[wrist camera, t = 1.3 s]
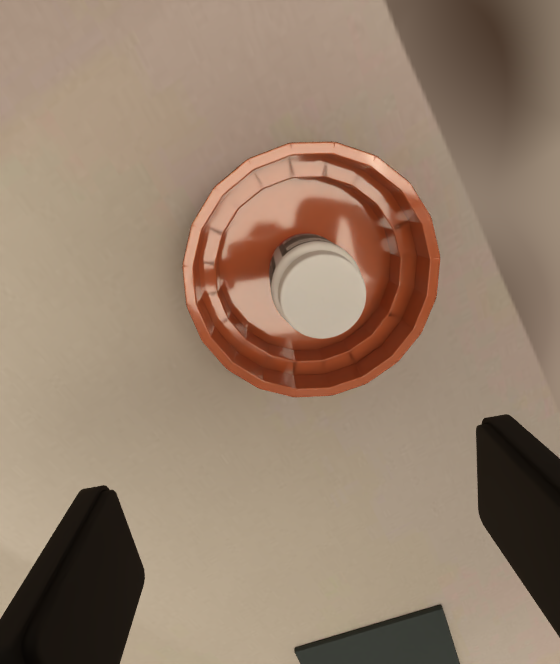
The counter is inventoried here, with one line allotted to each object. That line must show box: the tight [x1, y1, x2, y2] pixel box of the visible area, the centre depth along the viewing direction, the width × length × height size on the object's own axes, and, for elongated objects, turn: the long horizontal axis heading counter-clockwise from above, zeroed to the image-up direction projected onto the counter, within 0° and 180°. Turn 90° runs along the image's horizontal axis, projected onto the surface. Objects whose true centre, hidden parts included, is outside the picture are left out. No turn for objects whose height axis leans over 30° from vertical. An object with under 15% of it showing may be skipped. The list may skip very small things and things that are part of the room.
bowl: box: [182, 142, 440, 397], centre depth 25 cm, size 14×14×4 cm
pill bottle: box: [269, 233, 366, 339], centre depth 23 cm, size 5×5×8 cm
